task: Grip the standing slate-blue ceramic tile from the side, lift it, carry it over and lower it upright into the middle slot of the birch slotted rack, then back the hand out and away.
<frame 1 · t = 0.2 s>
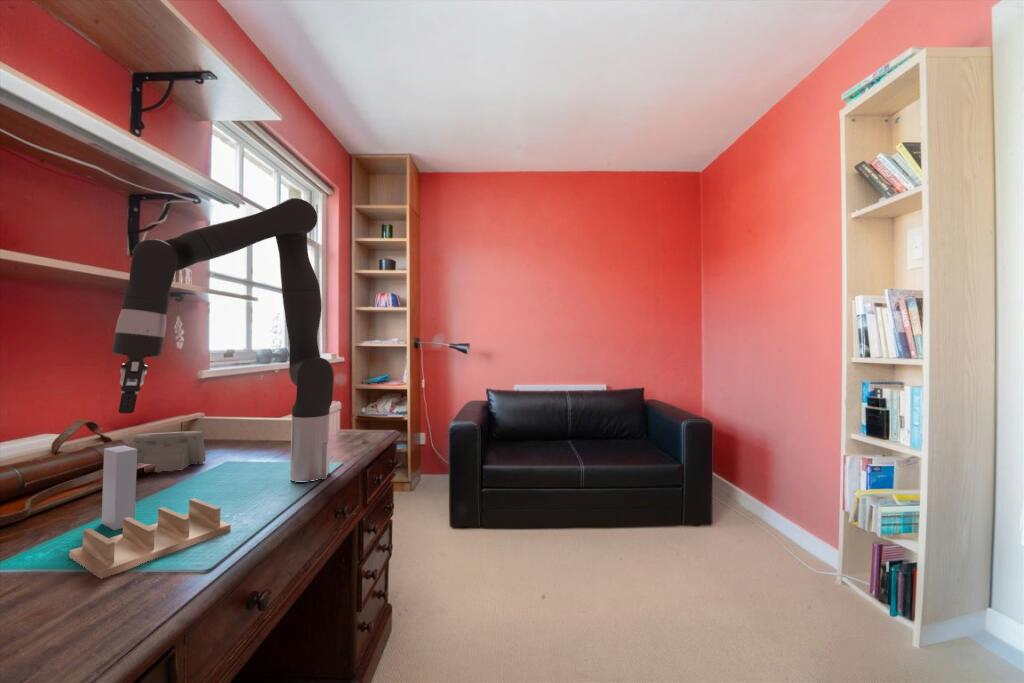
hand: (126, 410, 80), 22 cm above the table, tool pointing down, fingers open, 8 cm apart
tile: (118, 523, 77), on the table
rack: (155, 543, 70), on the table
grey basket: (170, 468, 112), on the table
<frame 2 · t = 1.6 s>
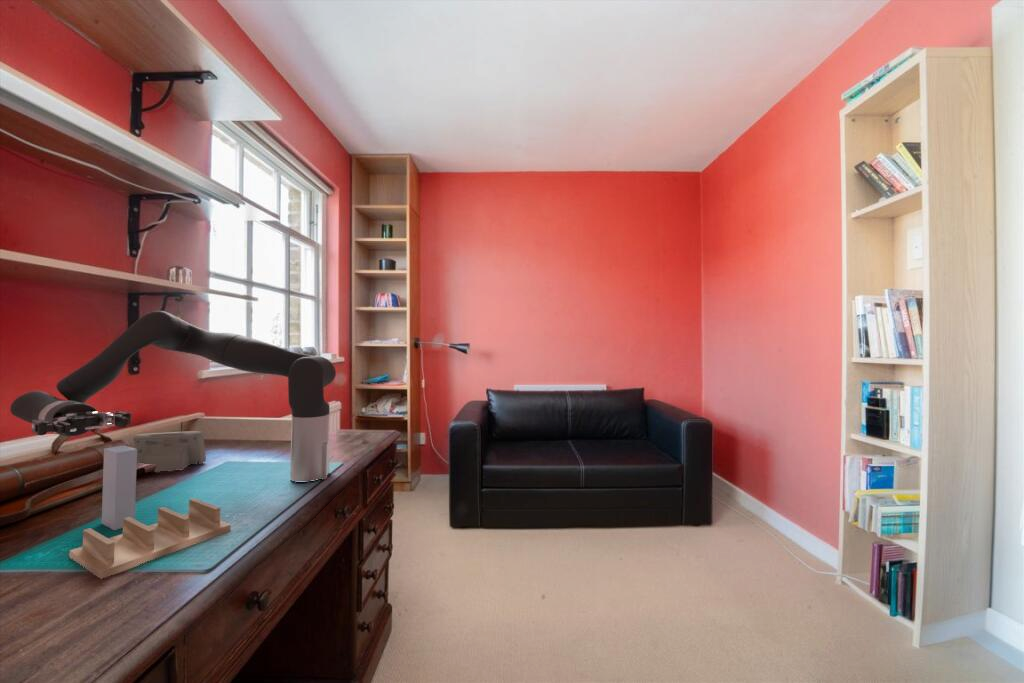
hand: (97, 426, 82), 18 cm above the table, tool horizontal, fingers open, 8 cm apart
nothing on the table moved.
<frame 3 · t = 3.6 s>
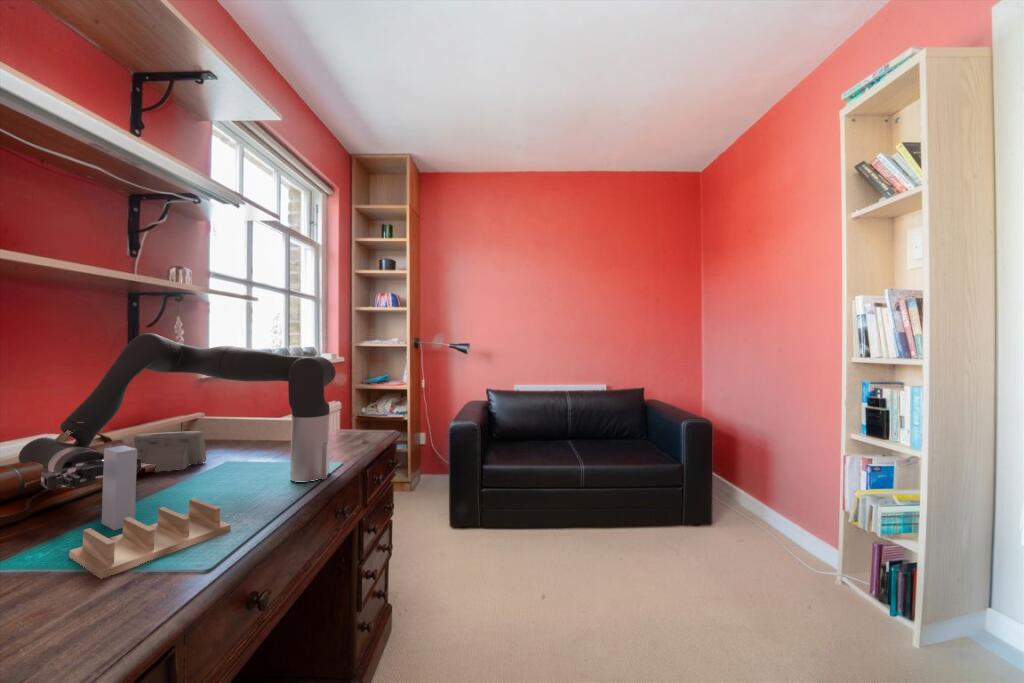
hand: (107, 476, 80), 8 cm above the table, tool horizontal, fingers open, 8 cm apart
nothing on the table moved.
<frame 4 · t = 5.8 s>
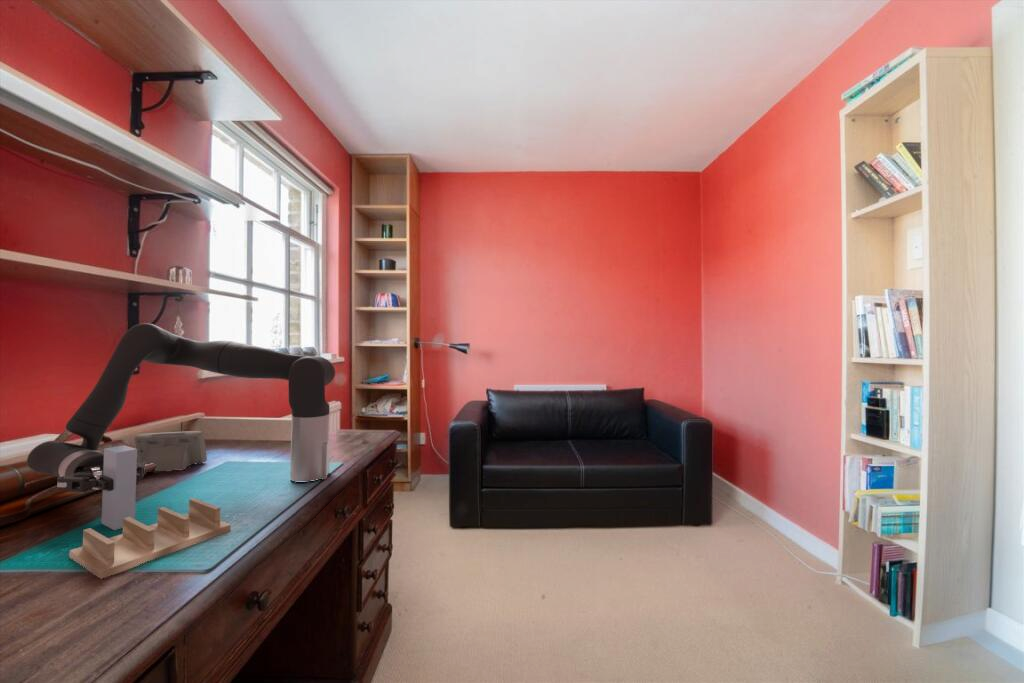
hand: (123, 482, 77), 9 cm above the table, tool horizontal, fingers closed on tile, 3 cm apart
tile: (118, 523, 77), on the table, touching gripper
everything else where it was.
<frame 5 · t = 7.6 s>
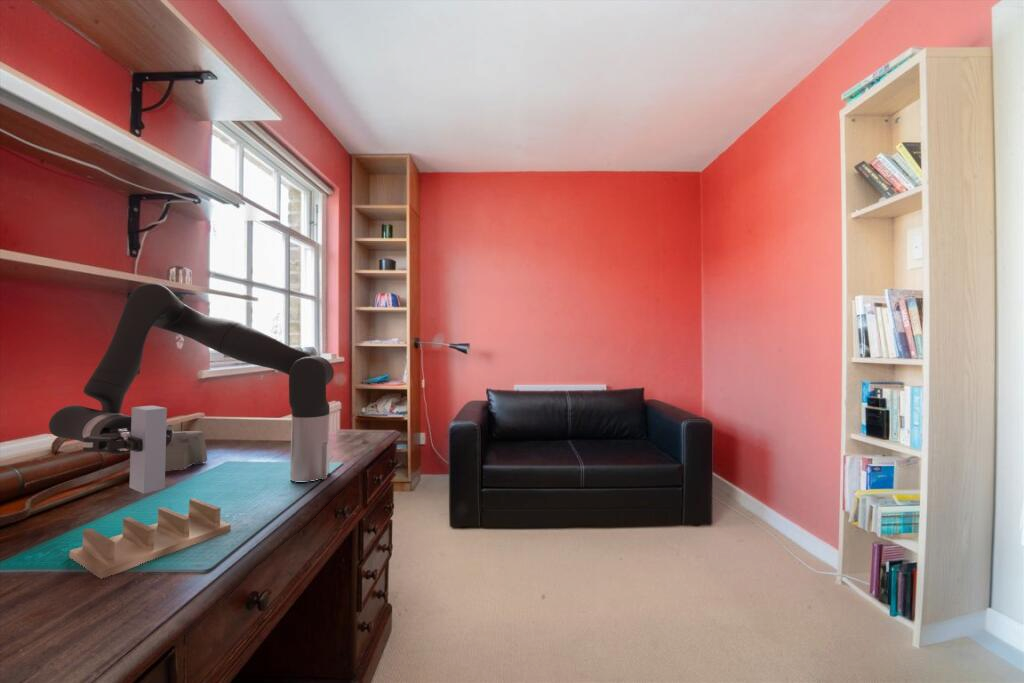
hand: (153, 443, 71), 18 cm above the table, tool horizontal, fingers closed on tile, 3 cm apart
tile: (147, 487, 72), point 9 cm above the table, touching gripper
everything else where it was.
when the fingers open (10 cm above the table, at t = 9.9 s): tile stays where it is, resting on rack.
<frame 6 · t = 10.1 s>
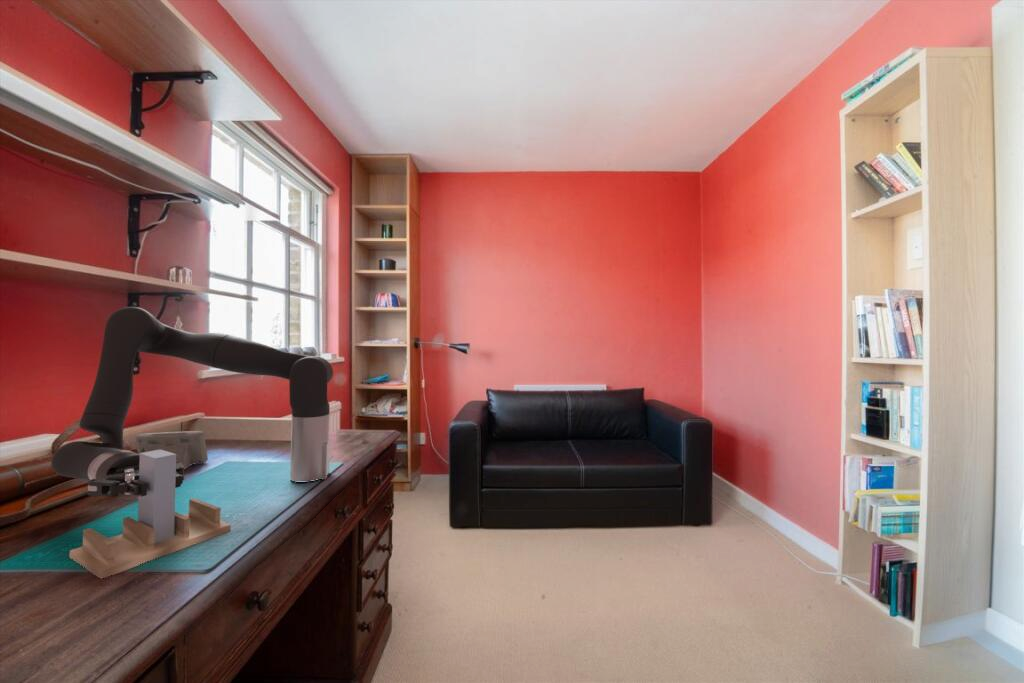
hand: (162, 485, 69), 11 cm above the table, tool horizontal, fingers open, 4 cm apart
tile: (155, 536, 70), point 1 cm above the table, touching rack
everything else where it was.
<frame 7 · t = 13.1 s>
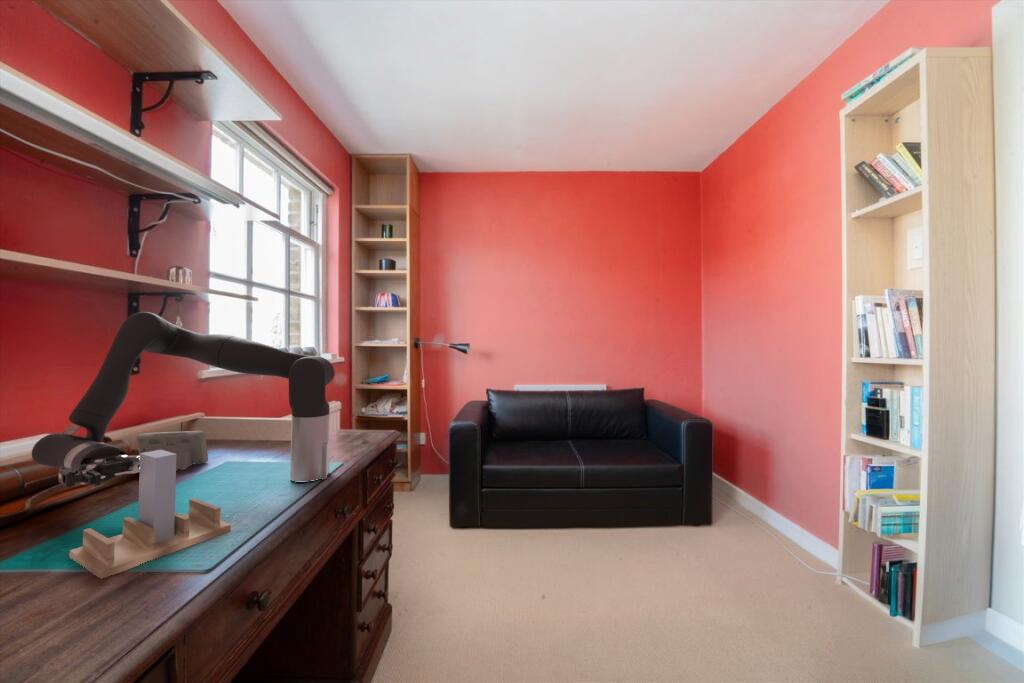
hand: (129, 473, 75), 11 cm above the table, tool horizontal, fingers open, 8 cm apart
nothing on the table moved.
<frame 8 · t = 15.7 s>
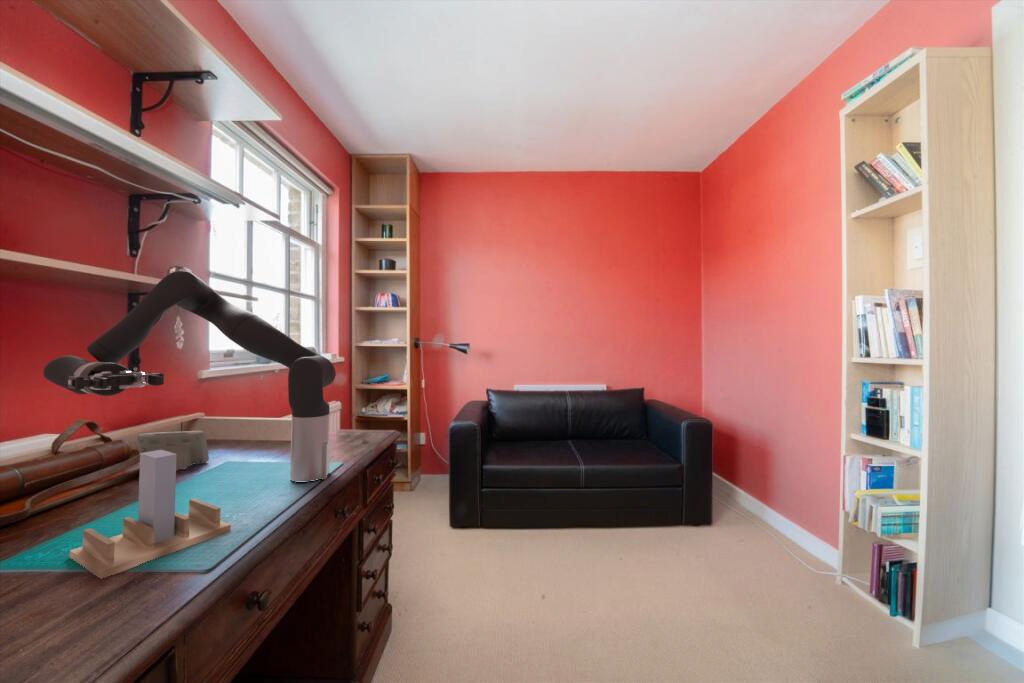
hand: (133, 382, 82), 28 cm above the table, tool horizontal, fingers open, 8 cm apart
nothing on the table moved.
at the end: tile 0.1 cm off-centre on the rack, point 1.2 cm above the rack's base; tile tilted 0°; the gripper is holding nothing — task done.
